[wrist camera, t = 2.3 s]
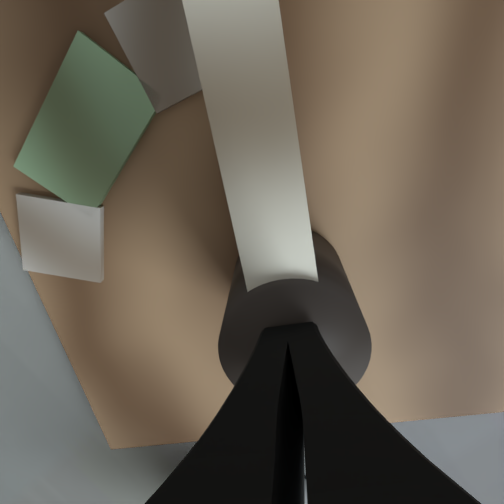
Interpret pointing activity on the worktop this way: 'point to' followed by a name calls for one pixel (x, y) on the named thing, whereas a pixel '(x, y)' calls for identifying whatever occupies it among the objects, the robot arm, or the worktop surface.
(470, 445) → the worktop surface
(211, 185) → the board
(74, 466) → the worktop surface
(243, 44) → the peg
